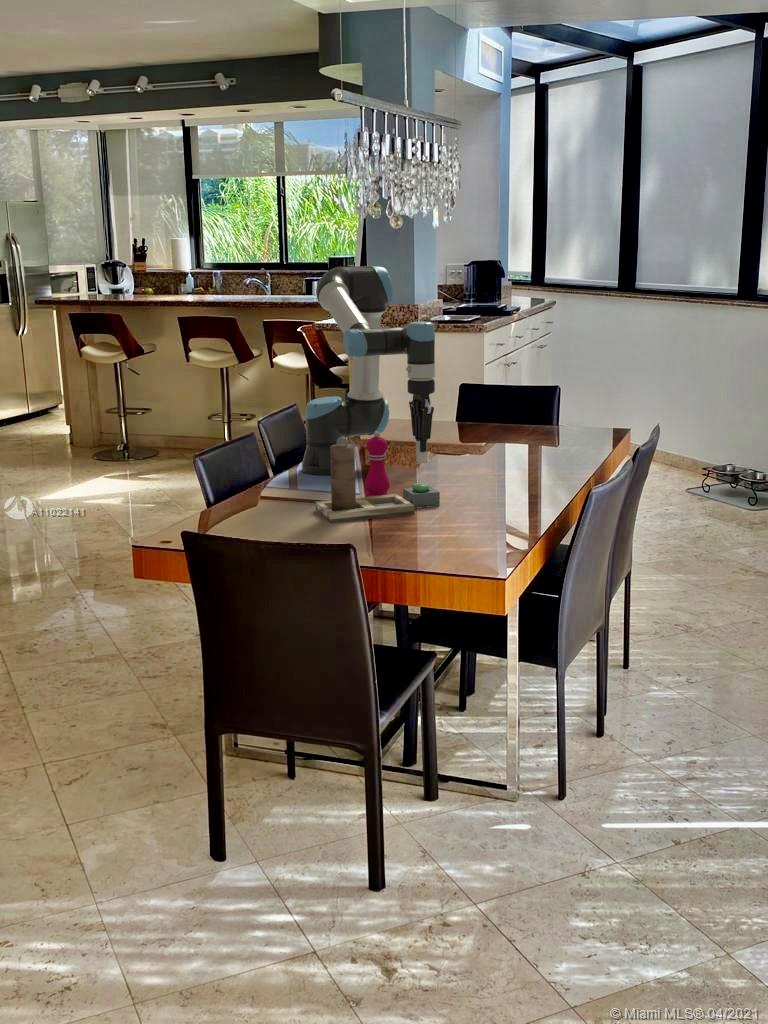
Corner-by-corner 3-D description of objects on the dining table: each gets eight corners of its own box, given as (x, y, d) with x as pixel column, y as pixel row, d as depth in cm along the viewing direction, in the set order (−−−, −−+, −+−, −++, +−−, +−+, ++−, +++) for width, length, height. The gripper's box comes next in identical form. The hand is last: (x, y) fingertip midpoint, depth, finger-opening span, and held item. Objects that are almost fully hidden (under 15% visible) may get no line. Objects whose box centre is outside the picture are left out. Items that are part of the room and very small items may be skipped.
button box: (403, 501, 304) (403, 488, 303) (429, 499, 307) (429, 485, 306) (413, 508, 297) (413, 494, 296) (439, 505, 300) (439, 491, 299)
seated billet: (328, 509, 293) (326, 435, 288) (351, 506, 295) (350, 434, 290) (335, 514, 287) (334, 440, 282) (358, 512, 289) (357, 438, 284)
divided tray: (315, 510, 296) (315, 501, 295) (396, 502, 304) (396, 493, 303) (330, 522, 283) (330, 513, 283) (414, 514, 291) (414, 505, 290)
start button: (410, 497, 303) (410, 483, 302) (425, 495, 305) (425, 482, 304) (416, 501, 299) (416, 487, 298) (432, 499, 300) (432, 486, 299)
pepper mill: (375, 495, 312) (375, 428, 307) (395, 499, 307) (394, 431, 302) (359, 500, 307) (358, 432, 301) (379, 504, 302) (378, 434, 297)
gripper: (400, 376, 298) (401, 459, 303) (417, 382, 286) (417, 468, 291) (425, 375, 300) (425, 457, 306) (442, 380, 288) (442, 466, 294)
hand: (421, 462), depth 299 cm, fingers closed
